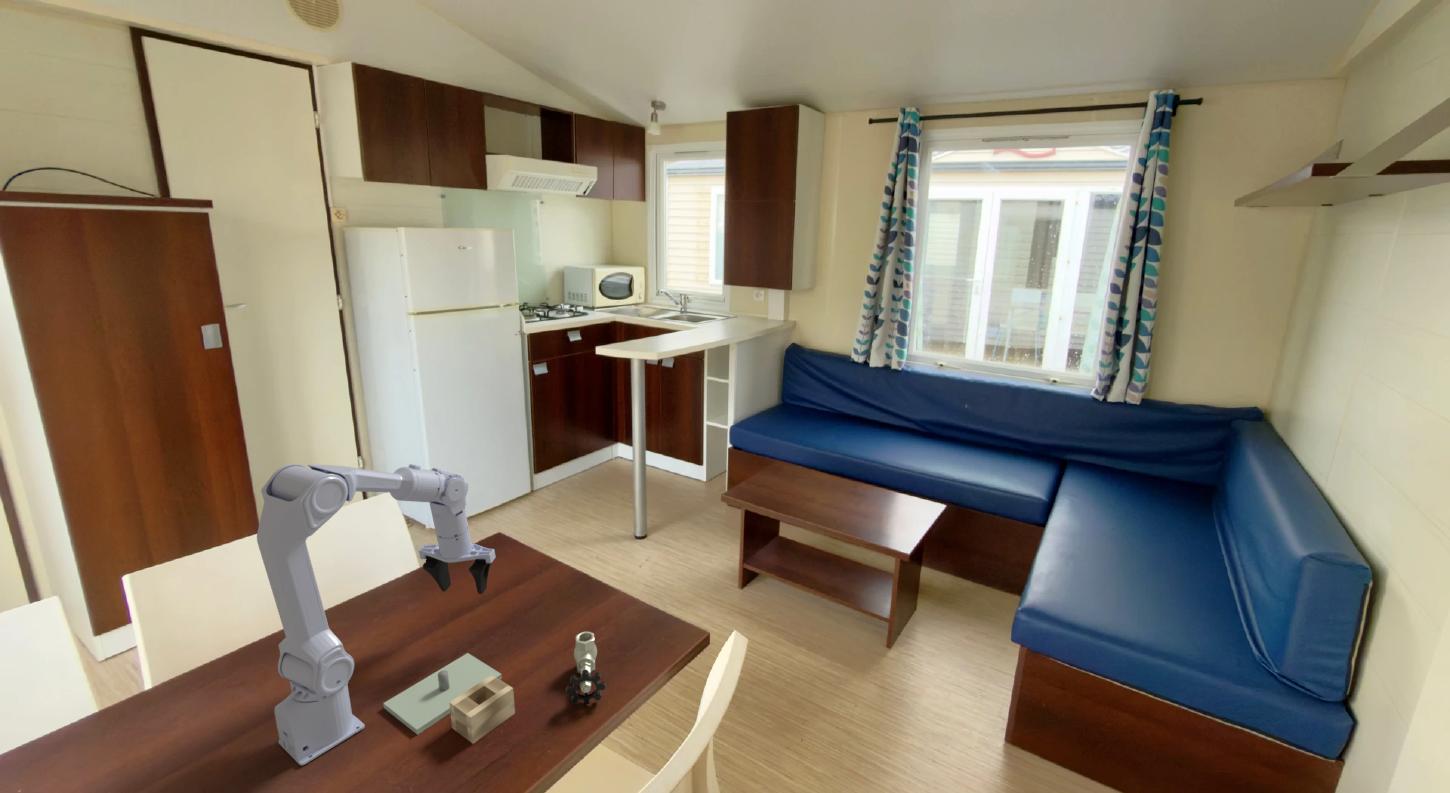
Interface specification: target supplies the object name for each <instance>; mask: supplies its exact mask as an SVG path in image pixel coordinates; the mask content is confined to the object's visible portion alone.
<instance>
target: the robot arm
mask: <svg viewBox="0 0 1450 793" xmlns="http://www.w3.org/2000/svg"><path fill="white" fill-rule="evenodd" d="M307 466H308V467H306V466H303V465H301V464H296V463H291V464H286V465H284V466H282V467H280V468H278V469H276V471H275V472H273V473H272V475H271V476H270V478H269V479H268V480H267V481H266V482H265V484H264V485H263V487H261V490H260V491H261V495H262V497H263V498H262V499H263V507H262V511H261V514H260V520H259V524H258V529H257V534H256V542H257V546H258V549H259V551H260V556H261V558H262V559H261V560H262V562H263V565H264V569H265V572H266V575H267V579H268V581H269V585H270V588H271V591H272V595H273V598H274V602H275V606H276V609H277V612H278V615H279V619H280V622H281V626H282V628H283V632H284V635H285V637H284V639H282V640H281V642H280V643H278V650H279V659H278V664H277V672H278V674H279V675H280V677H281V678H284V679H287V680H289V685H290V686H289V687H290V690H291V691H290V692H291V693H290V694H289V695H288V696H287V697H286V698H284V699H283V700H282V701H281V702H280V703H278V704H276V705H275V706H274V712H273V713H274V718H275V724H276V728H277V732H278V745H280V747H282V748H283V749H284V750H285V752H287V754H288V755H289V756H291V758H292V759H294V761H295V762H296V763H297V764H298V765H299V766H304V765H306V764H308V763H310V762H311V761H313V760H315V759H316V758H318V757H320V756H321V755H323V754H324V753H326V752H328V751H329V750H331V749H332V748H334V747H336V746H337V745H339V744H341V743H342V742H344V741H345V740H347V739H349V738H350V737H352V736H354V735H355V734H357V733H358V732H360V731H362V730H363V729H365V726H366V725H365V723H364V722H362V721H361V720H360V719H359V718H358V717H356V716H355V715H354V713H352V712H353V711H352V705H351V704H352V703H351V699H350V693H349V686H348V684H349V681H350V680H351V678H352V676H353V674H354V671H355V660H354V658H353V657H352V656H351V654H349V653H347V652H346V650H345V648H344V645H343V642H341V640H340V639H339V638H338V636H336V635H335V633H334V632H333V631H332V630H331V629H330V627H329V624H328V619H327V616H326V611H325V607H324V605H323V601H322V598H321V593H320V591H319V585H318V583H317V579H316V575H315V571H314V568H313V564H312V560H311V556H310V553H309V549H308V546H307V539H308V538H310V537H311V536H313V535H314V534H315V533H316V532H317V531H319V529H320V528H322V527H323V525H325V523H327V522H328V521H330V519H332V517H333V516H334V515H336V514H337V513H338V512H339V511H340V510H341V509H342V507H344V505H345V503H346V502H352V501H353V499H354V496H355V494H356V492H365V493H389V494H390V496H391V497H392V498H393V499H394V500H395V501H399V502H400V501H402V502H417V503H429V508H430V511H431V517H432V520H433V521H432V522H433V526H434V530H435V536H436V540H437V543H436V544H424V545H423V546H421V548H420V549H419V550H418V555H419V559H420V560H425V562H424V563H423V564H422V568H423V570H424V571H426V572H427V573H428V574H429V575H430V576H431V577H432V579H433V580H434V581H435V582H436V583H437V585H438V586H439V589H440V590H441V591H442V592H446V591H447V590H448V589H449V588H450V587H451V583H452V582H451V575H450V570H449V563H450V564H451V563H458V562H466V561H474V562H473V563H472V564H471V566H470V567H469V568H468V571H469V572H470V574H471V575H472V577H473V579H474V582H475V587H476V592H477V593H478V595H483V593H484V592H485V591H486V590H487V585H488V578H489V572H490V568H491V565H492V563H493V561H494V560H495V559H496V552H495V548H488V547H484V546H482V545H479V544H477V543H473V542H472V538H471V534H470V528H469V521H468V517H467V513H466V512H467V511H466V505H467V502H466V498H467V494H468V492H469V483H468V482H466V481H465V480H464V477H462V475H459V474H456V473H451V472H448V471H443V470H442V469H440V468H437V467H433V468H431V469H423V468H421V466H420V465H417V464H411V463H409V464H408V467H407V466H402V467H399V468H398V469H396V470H395V471H394V472H393V473H392V472H385V471H378V470H372V469H366V468H365V469H363V468H357V467H352V466H351V467H350V466H344V465H331V464H329V465H328V464H316V463H315V464H307Z"/></svg>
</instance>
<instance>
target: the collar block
mask: <svg viewBox="0 0 1450 793" xmlns="http://www.w3.org/2000/svg"><path fill="white" fill-rule="evenodd" d="M449 704H450V719H451V721H450V722H451V728H452V730H454V731H455V732H457V733H458V734H459V735H461V737H463V738H464V739H466V740H467V741H468V742H470V743H471V744H473V745H474V744H475V743H476V742H478V741H479V740H480V739H482V738H483V737H485V736H486V735H488V734H489V733H490V732H491V731H493V730H494V729H496V728H497V727H498V726H500V725H501V724H503V723H504V722H505V721H506V720H508V719H509V718H510V717H513V715H515V714H516V707H515V695H514V687H513V686H510V685H509V684H507V682H504V681H503V680H502V679H501V680H500V679H498V678H496V677H495V676H493V675H491V676H489V677H488V678H486V679H484V680H483V681H481V682H480V683H478V684H477V685H475V686H474V687H472V688H471V689H469V690H468V691H466V692H464V693H463V694H461V695H460V696H458V697H457V698H455V699H454V700H452V701H451V702H449Z"/></svg>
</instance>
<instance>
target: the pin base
mask: <svg viewBox="0 0 1450 793" xmlns="http://www.w3.org/2000/svg"><path fill="white" fill-rule="evenodd" d="M491 675H493V676H495V677H496V678H498V679H500V680H501V681H502V678H503V675H502V673H500V672H499V671H497V670H496V669H494V668H492V667H491V666H490V665H488V664H486V663H485V662H484V661H482V660H480V659H478V658H477V657H476V656H474V655H472V654H470V653H469V652H467V653H465V654H463V655H462V656H460V657H459V658H457V659H455V660H454V661H452V662H450V663H449V664H447V665H445V666H443V667H442V668H440V669H439V670H437V671H435V672H433V673H431V674H430V675H429V676H427V677H424V679H423V678H422V680H420V681H418V682H417V683H415V684H414V685H411V686H410V687H408V688H407V689H405V690H403V691H401V692H400V693H398V694H397V695H395V696H392V697H391V698H389V699H388V700H386V701H385V702H383V709H385V710H386V711H387V712H388V713H390V714H391V715H392V716H393V717H395V718H396V719H397V720H398V721H399V722H401V723H402V724H403V725H404V726H405V727H407V728H408V729H410V731H412V732H413V733H415V734H416V735H418V736H419V735H420V734H421V733H423V732H425V730H427V729H428V728H430V727H432V726H433V725H435V724H436V723H437V722H439V721H441V720H442V719H444V718H445V717H446V716H448V715H451V713H450V704H449V702H451V701H452V700H454V699H455V698H457V697H458V696H460V695H461V694H463V693H464V692H466V691H468V690H469V689H471V688H472V687H474V686H475V685H477V684H478V683H480V682H481V681H483V680H484V679H486V678H488V677H489V676H491Z"/></svg>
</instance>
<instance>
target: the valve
mask: <svg viewBox="0 0 1450 793" xmlns="http://www.w3.org/2000/svg"><path fill="white" fill-rule="evenodd" d="M597 656H598V648H597V645H596V644H595V634H594V632H592V631H582V632H580V633H578V634H576V635H575V647H574V650H573V658H574V660H575V662H576V672H577V673H580V677H577V674H573V675H571V676H570V684H571V685H572V686H570V684H569V685H567V686H566V688H565V693H566V695H572V696H571V700H570V701H571V703H572V704H573V705H574V704H577V703H578V702H579V701H582V704H583V706H584V705H587V704H589V705H590V704H591V702H590V701H591V699H594V700H595V701H600V700H601V699H602V692H601V691H604V690H606V688H607V687H606V686H607V684H606V682H605V680H604V681H603V680H601V673H600V672H598V671H597V672H595V673H594V675H591V674H592V672H593V670H594V671H595V670H596V658H597ZM600 680H601V682H599V681H600ZM592 683H593V684H594V686H595V689H594V690H593V692H591V690H592V686H593V684H592ZM578 686H579V688H580V691H581V692H582V693H584V694H580V693H579V692H578V691H577V687H578ZM589 692H591V693H589Z"/></svg>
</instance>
